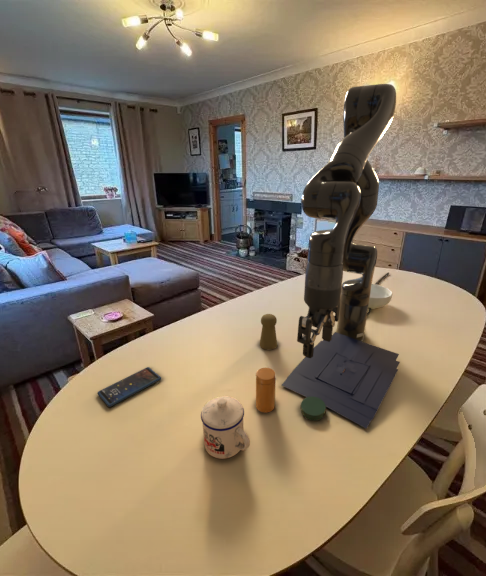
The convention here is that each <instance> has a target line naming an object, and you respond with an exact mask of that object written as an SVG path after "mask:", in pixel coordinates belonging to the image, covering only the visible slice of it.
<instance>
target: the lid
mask: <svg viewBox="0 0 486 576" xmlns="http://www.w3.org/2000/svg"><path fill="white" fill-rule="evenodd" d="M326 411H327V407H326V406H325V403H324V402H323V401H322V400H321V399H320V398H317V397H305V398H303V399H302V401H301V402H300V412H301V415H302V416H303V417H304V418H305V419H306V420H309V421H320V420H322V419H323V418H325V416H326Z"/></svg>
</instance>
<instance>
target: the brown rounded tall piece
mask: <svg viewBox="0 0 486 576" xmlns="http://www.w3.org/2000/svg"><path fill="white" fill-rule="evenodd" d="M277 319H278V318H277V317H276V315H275V314H272V313H265V314H263V315H262V316H261V317H260V324H261V333H260V339H259V347H260V348H261V349H263V350H266V351H271V350H275V349H276V348H277V347H278V339H277V332H276V331H277V330H276V325H277V321H278V320H277Z"/></svg>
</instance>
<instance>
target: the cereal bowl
mask: <svg viewBox="0 0 486 576" xmlns="http://www.w3.org/2000/svg"><path fill="white" fill-rule="evenodd" d="M392 298H393V291H392V290H391V289H390V288H388V287H386V286H383V285H380V284H377V285H376V283H372V286H371V293H370V299H369V306H368V310H369V308H371V310H376V309H380V308H383V307H385V306H387V305H389V304H390V302H391V301H392Z"/></svg>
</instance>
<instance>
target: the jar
mask: <svg viewBox="0 0 486 576" xmlns="http://www.w3.org/2000/svg"><path fill="white" fill-rule="evenodd" d="M276 380H277V379H276V372H275V370H274V369H272V368H270V367H261V368H259V369H258V370H257V371H256V372H255V407H256V409H257V411H259V412H261V413H270V412H272V411H273V410H275V407H276Z"/></svg>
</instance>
